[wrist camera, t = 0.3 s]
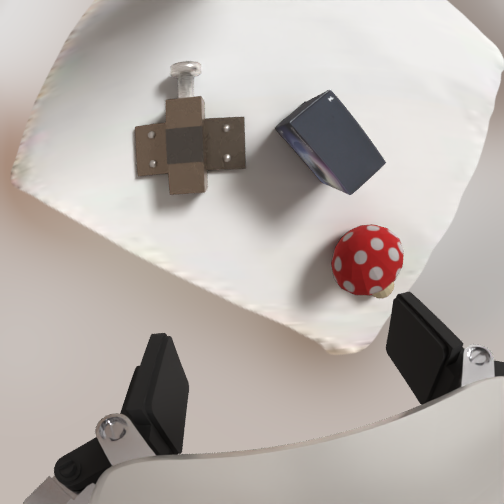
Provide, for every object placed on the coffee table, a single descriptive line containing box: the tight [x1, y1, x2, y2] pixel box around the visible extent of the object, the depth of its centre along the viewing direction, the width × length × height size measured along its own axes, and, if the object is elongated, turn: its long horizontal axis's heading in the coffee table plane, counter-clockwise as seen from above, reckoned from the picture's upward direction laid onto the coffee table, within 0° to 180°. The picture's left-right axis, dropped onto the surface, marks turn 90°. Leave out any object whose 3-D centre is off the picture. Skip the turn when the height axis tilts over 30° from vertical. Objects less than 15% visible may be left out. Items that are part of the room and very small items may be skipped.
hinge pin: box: [170, 61, 201, 98], centre depth 32 cm, size 14×4×4 cm, turn 2°
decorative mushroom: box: [331, 224, 404, 298], centre depth 40 cm, size 11×11×15 cm
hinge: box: [135, 96, 246, 195], centre depth 34 cm, size 12×15×4 cm
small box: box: [275, 90, 386, 195], centre depth 32 cm, size 11×6×10 cm, turn 43°
